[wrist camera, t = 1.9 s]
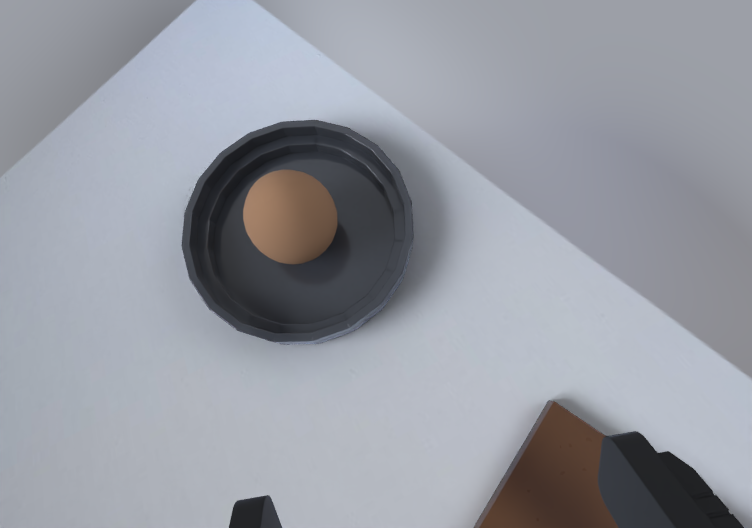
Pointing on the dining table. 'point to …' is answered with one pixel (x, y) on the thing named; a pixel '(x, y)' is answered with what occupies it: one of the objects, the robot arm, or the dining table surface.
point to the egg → (290, 216)
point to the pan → (313, 278)
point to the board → (552, 478)
